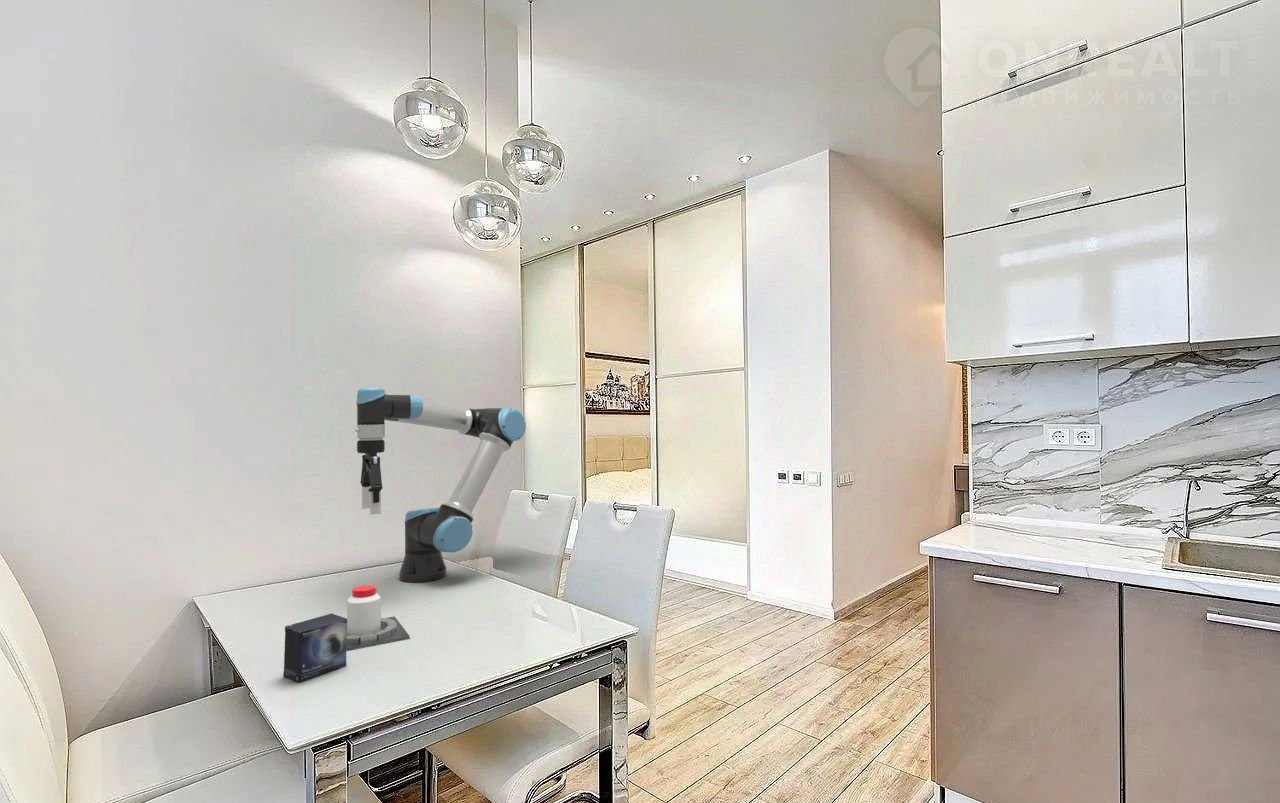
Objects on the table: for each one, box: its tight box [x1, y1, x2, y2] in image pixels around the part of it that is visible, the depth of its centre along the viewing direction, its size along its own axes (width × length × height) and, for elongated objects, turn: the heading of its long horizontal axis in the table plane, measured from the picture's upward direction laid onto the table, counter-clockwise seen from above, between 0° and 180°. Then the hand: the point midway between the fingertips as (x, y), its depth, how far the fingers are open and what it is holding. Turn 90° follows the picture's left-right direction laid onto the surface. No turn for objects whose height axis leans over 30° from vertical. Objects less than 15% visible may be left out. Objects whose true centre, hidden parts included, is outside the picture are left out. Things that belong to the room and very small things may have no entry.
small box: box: [282, 613, 347, 683], centre depth 129 cm, size 11×6×10 cm, turn 148°
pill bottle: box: [346, 584, 382, 636], centre depth 151 cm, size 8×8×11 cm
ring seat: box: [346, 615, 411, 652], centre depth 151 cm, size 18×18×2 cm
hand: (371, 511), depth 180 cm, fingers open, 13 cm apart
